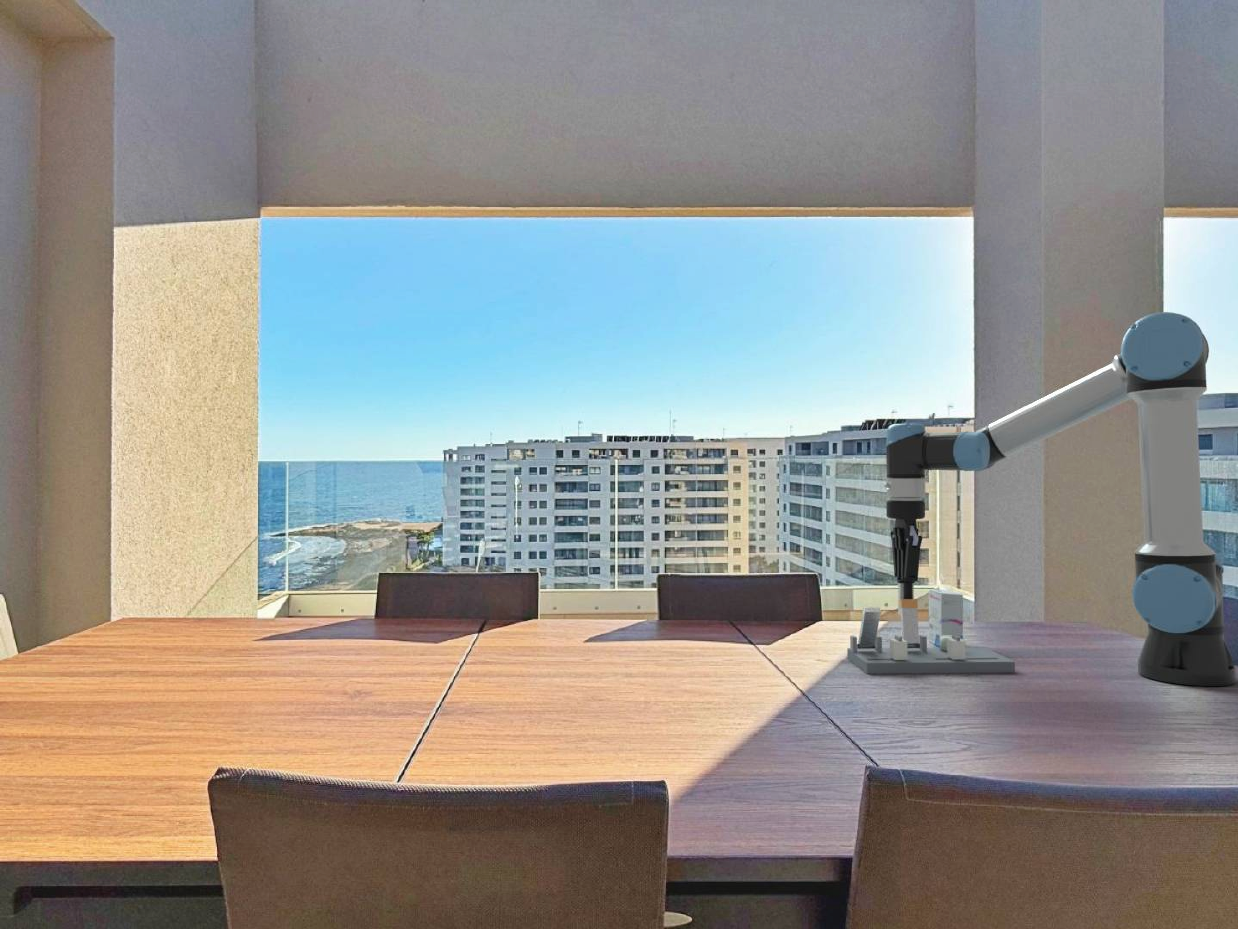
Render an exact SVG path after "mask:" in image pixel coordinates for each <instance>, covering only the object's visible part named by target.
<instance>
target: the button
mask: <svg viewBox="0 0 1238 929" xmlns="http://www.w3.org/2000/svg"><path fill="white" fill-rule="evenodd" d="M958 637H959V636H958ZM947 638H952V635H942V636H940V647H939V648H940V649H941V650H944V651H947ZM960 639H961V637H960Z"/></svg>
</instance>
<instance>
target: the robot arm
mask: <svg viewBox="0 0 1238 929" xmlns="http://www.w3.org/2000/svg"><path fill="white" fill-rule="evenodd" d="M1121 341H1122V342H1121V345H1120V353H1118V354H1115V355H1114V358H1113V360H1112V362H1111V363H1110V364H1108V365H1106V366H1104V367H1102V368H1099V369H1097V370H1095V371H1094V372H1092V373H1089V374H1088V375H1086V376H1084V377H1082V378H1080V379H1078V380H1076V381H1073V382H1072V383H1070V384H1068V385H1066V386H1064V387H1062V388H1059V389H1058V390H1055V391H1054V392H1052V393H1050V394H1048V395H1046V396H1044V397H1042V398H1040V399H1038V400H1036V401H1033V402H1032V403H1030V404H1028V405H1026V406H1023V407H1021V408H1020V409H1017V410H1015V411H1014V412H1011V413H1010V414H1008V415H1006V416H1004V417H1002V418H1000V419H998V420H996V421H994V422H992V423H990V424H988V425H987V426H984V427H982V428H979V429H977V430H976V431H968V430H967V431H959V432H958V431H957V432H956V431H955V432H936V433H935V432H934V433H933V432H927V431H926V427H925V425H924V424H923V423H892V424H891V425H889V426H888V427H887V430H886V442H885V454H886V458H885V460H886V482H885V483H883V487H884V488H885V489H886V497H887V498H889V499H888V500H887V501H886V503H885V504H886V517H887V518H888V519H893V520H894V521H895V522H894V527H893V529H892V530H890V532H889V534H890V539H891V547H892V560H893V573H894V574H893V575H894V577H895V578H896V581H897V594H898V595H897V598H898V599H897V601H898V602H897V609H898V610H897V613H898V615H899V616H901V609H900V602H899V599H915V598H914V597H915V594H914V592H915V591H914V585H915V582H918V580H919V570H920V569H919V568H920V555H921V546H922V543H923V542H922V541H923V536H922V535H919V528H918V526H917V520H923V519H925V518H926V502H925V500H923V498H925V497H926V474H925V473H926V471H964V472H982V471H984V470H987V469H990V468H991V467H993V466H995V464H996V463H997V462H999V461H1002V460H1004V459H1006V458H1007V457H1010V456H1011V455H1014V454H1016V453H1018V452H1020V451H1022V450H1025V449H1027V448H1029V447H1031V446H1033V445H1035V444H1037V443H1040V442H1041V441H1044V440H1047V439H1048V438H1050V437H1053V436H1055V435H1056V434H1059V433H1060V432H1063V431H1066V430H1067V429H1069V428H1072V427H1074V426H1076V425H1078V424H1080V423H1082V422H1084V421H1087V420H1088V419H1091V418H1093V417H1095V416H1097V415H1099V414H1102V413H1104V412H1106V411H1108V410H1110V409H1112V408H1114V407H1116V406H1119V405H1121V404H1123V403H1125V402H1127V401H1129V400H1133V402H1135V403H1136V405H1137V412H1138V414H1137V416H1138V437H1139V458H1140V461H1139V462H1140V479H1141V480H1140V481H1141V482H1140V483H1141V501H1142V522H1143V524H1142V526H1143V542H1142V544H1140V546H1138V547H1137V548H1136V549H1135V550H1134V567H1135V568H1134V569H1135V570H1134V571H1135V581H1134V584H1133V586H1132V591H1131V598H1132V602H1133V607H1134V608H1135V610H1136V612H1137V613H1138V615H1139V616H1140V618H1142V619H1143V621H1145V623H1147V633H1146V638H1145V639H1144V643H1143V645H1142V648H1141V651H1140V654H1139V657H1138V659H1137V673H1138V674H1139V675H1141V676H1143V677H1145V678H1148V679H1152V680H1154V681H1160V682H1165V683H1171V684H1179V685H1186V686H1187V685H1188V686H1199V687H1221V686H1222V687H1223V686H1224V687H1225V686H1232V685H1234V684H1236V683H1237V670H1236V669H1237V668H1236V667H1235V664H1234V663H1235V662H1234V661H1233V658H1232V656H1231V652H1230V651H1229V648H1228V646H1227V643H1226V640H1225V636H1224V590H1223V589H1224V588H1223V582H1224V581H1223V579H1224V578H1223V574H1224V572H1225V571H1224V570H1225V568H1224V565H1223V561H1222V560H1223V559H1222V557H1221V555H1219V554H1218V553H1216V552H1215V550H1213V549H1212V548H1210V547H1209V545H1207V544H1206V543H1205V542H1204V526H1203V508H1202V488H1201V485H1202V484H1201V470H1200V469H1201V468H1200V467H1201V466H1200V447H1199V445H1200V444H1199V427H1198V426H1199V425H1198V424H1199V423H1198V404H1197V401H1198V399H1200V398H1201V397H1202V395H1203V394H1204V393H1205V392H1206V391H1207V389H1208V388H1207V387H1208V386H1207V367H1206V364H1207V362H1208V359H1209V356H1210V355H1209V354H1210V347H1209V342H1208V340H1207V338H1206V336H1205V335H1204V333H1203V331H1202V329H1201V327H1200V326H1199V325H1198V323H1197V322H1196V321H1194V320H1193V319H1192V318H1190V317H1188V316H1187V315H1184V314H1181V313H1177V312H1170V311H1164V312H1163V311H1161V312H1156V313H1151V314H1148V315H1146V316H1143V317H1141V318H1140V319H1138V320H1137V321H1135V322H1134V323H1133V324H1132V325H1131V326H1130V327H1129V328H1128V329H1127V331H1126V332H1125V334H1124V336H1123V338H1122V340H1121Z"/></svg>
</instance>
